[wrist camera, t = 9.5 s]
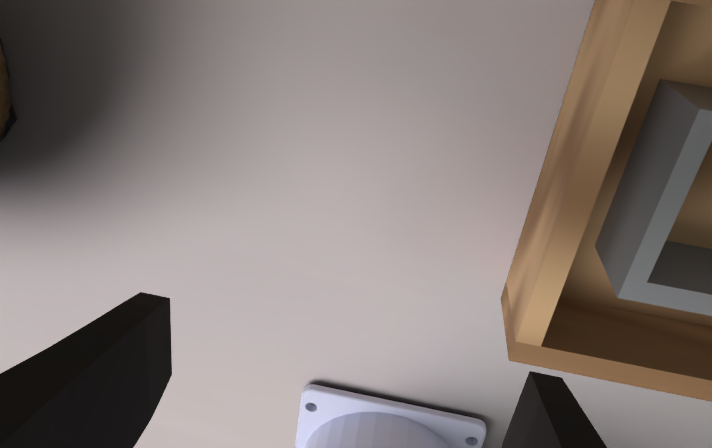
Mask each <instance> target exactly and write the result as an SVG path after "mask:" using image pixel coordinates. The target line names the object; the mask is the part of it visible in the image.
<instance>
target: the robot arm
mask: <svg viewBox="0 0 712 448" xmlns="http://www.w3.org/2000/svg"><path fill="white" fill-rule="evenodd" d="M171 375H172V365H171V325H170V298H166V297H161V296H157V295H152V294H147V293H142V292H141V293H139V294H137V295H135V296H134V297H132V298H130V299H128V300H127V301H125V302H123V303H122V304H120V305H119V306H117V307H115V308H114V309H112V310H110V311H109V312H107V313H106V314H104V315H102V316H101V317H99V318H97V319H96V320H94V321H93V322H91V323H89V324H88V325H86V326H84V327H83V328H81V329H79V330H78V331H76V332H74V333H73V334H71V335H69V336H67V337H66V338H64V339H62V340H61V341H59V342H57V343H56V344H54V345H52V346H51V347H49V348H47V349H45V350H44V351H42V352H40V353H38V354H36V355H34V356H32V357H31V358H29V359H27V360H25V361H23V362H21V363H19V364H18V365H16V366H14V367H12V368H10V369H8V370H7V371H5V372H3V373H1V374H0V448H133V447H134V446H135V444H136V442H137V441H138V439H139V438H140V436H141V434H142V433H143V431H144V430H145V428H146V426H147V425H148V423H149V421H150V420H151V418H152V416H153V414H154V412H155V410H156V407H157V405H158V403H159V401H160V399H161V397H162V395H163V393H164V390H165V388H166V386H167V384H168V382H169V379H170V377H171ZM309 403H314V404H315V405H311V404H309ZM468 437H474V438H468ZM485 437H486V425H485V423H484V422H483V421H482V420H480V419H477V418H472V417H467V416H462V415H458V414H453V413H448V412H443V411H439V410H434V409H429V408H424V407H420V406H415V405H410V404H405V403H400V402H396V401H391V400H386V399H381V398H377V397H372V396H367V395H362V394H357V393H353V392H348V391H343V390H338V389H334V388H329V387H324V386H319V385H313V384H310V385H307V386H306V387H304V389H303V392H302V395H301V402H300V410H299V419H298V427H297V435H296V443H295V448H482V445H483V442H484V439H485ZM502 448H607V447H606V445H605V444H604V442H603V441H602V439H601V438H600V436H599V435H598V433H597V432H596V430H595V429H594V427H593V426H592V424H591V422H590V421H589V419H588V418H587V416H586V415H585V413H584V412H583V410H582V408H581V407H580V405H579V404H578V402H577V401H576V399H575V398H574V396H573V394H572V393H571V391H570V390H569V388H568V387H567V385H566V384H565V382H564V381H563V379H562V378H560V377H555V376H550V375H546V374H541V373H536V372H531V371H530V372H529V375H528V377H527V380H526V383H525V385H524V388H523V391H522V393H521V396H520V399H519V401H518V404H517V407H516V409H515V412H514V415H513V417H512V420H511V423H510V425H509V428H508V431H507V433H506V436H505V439H504V441H503V444H502Z"/></svg>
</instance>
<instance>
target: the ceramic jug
mask: <svg viewBox="0 0 712 448" xmlns="http://www.w3.org/2000/svg"><path fill="white" fill-rule="evenodd" d="M8 89H9V73H8V68H7V64H6V59H5V55H4V50H3V46H2V42H1V40H0V142H1V141H2V140H3V139H4V138H5V136H6V135H7V133H8V132H9V130H10V129H11V127H12V126H13V124H14V123H15V121H16V120H17V118H16V115H15V112H14V108H13V105H12V102H11V99H10V96H9V93H8Z"/></svg>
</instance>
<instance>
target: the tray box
mask: <svg viewBox="0 0 712 448" xmlns="http://www.w3.org/2000/svg"><path fill="white" fill-rule="evenodd" d="M660 79H663V80H669V81H675V82H681V83H687V84H693V85H699V86H705V87H711V88H712V0H595V3H594V6H593V9H592V12H591V15H590V18H589V22H588V25H587V28H586V31H585V34H584V37H583V40H582V44H581V47H580V50H579V53H578V56H577V59H576V63H575V66H574V69H573V72H572V75H571V78H570V82H569V85H568V88H567V91H566V94H565V97H564V101H563V104H562V107H561V110H560V113H559V116H558V119H557V123H556V126H555V129H554V132H553V135H552V138H551V142H550V145H549V148H548V151H547V154H546V157H545V161H544V164H543V167H542V170H541V173H540V176H539V179H538V183H537V186H536V189H535V192H534V195H533V198H532V202H531V205H530V208H529V211H528V214H527V217H526V221H525V224H524V227H523V230H522V233H521V236H520V239H519V243H518V246H517V249H516V252H515V255H514V258H513V262H512V265H511V268H510V271H509V274H508V277H507V281H506V284H505V287H504V290H503V293H502V296H501V304H502V311H503V319H504V326H505V334H506V342H507V349H508V357H509V361H514V362H519V363H524V364H529V365H534V366H539V367H544V368H549V369H554V370H559V371H563V372H568V373H573V374H578V375H583V376H588V377H593V378H598V379H603V380H608V381H613V382H618V383H623V384H628V385H633V386H638V387H642V388H647V389H652V390H657V391H662V392H667V393H672V394H677V395H682V396H687V397H692V398H697V399H702V400H707V401H712V316H709V315H703V314H698V313H693V312H688V311H683V310H678V309H672V308H667V307H662V306H657V305H652V304H647V303H641V302H636V301H631V300H626V299H621V298H617V296H616V294H615V291H614V289H613V287H612V285H611V282H610V280H609V278H608V276H607V273H606V271H605V269H604V266H603V264H602V262H601V260H600V257H599V255H598V253H597V251H596V248H595V243H596V241H597V238H598V236H599V233H600V231H601V228H602V226H603V223H604V220H605V218H606V215H607V213H608V210H609V208H610V205H611V203H612V200H613V198H614V195H615V192H616V190H617V187H618V185H619V182H620V180H621V177H622V175H623V172H624V169H625V167H626V164H627V162H628V159H629V157H630V154H631V152H632V149H633V146H634V144H635V141H636V139H637V136H638V134H639V131H640V129H641V126H642V124H643V121H644V118H645V116H646V113H647V111H648V108H649V106H650V103H651V101H652V98H653V95H654V93H655V90H656V88H657V85H658V83H659V80H660ZM666 240H667V241H672V242H677V243H683V244H688V245H693V246H699V247H704V248H709V249H712V141H711V144H710V146H709V148H708V150H707V152H706V154H705V157H704V159H703V161H702V163H701V165H700V167H699V170H698V172H697V174H696V176H695V178H694V181H693V183H692V185H691V187H690V189H689V191H688V194H687V196H686V198H685V200H684V202H683V204H682V207H681V209H680V211H679V213H678V215H677V218H676V220H675V222H674V224H673V226H672V228H671V231H670V233H669V235H668V237H667V239H666Z"/></svg>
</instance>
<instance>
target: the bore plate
mask: <svg viewBox="0 0 712 448" xmlns="http://www.w3.org/2000/svg"><path fill="white" fill-rule="evenodd" d="M711 141H712V88H711V87H705V86H699V85H693V84H687V83H681V82H675V81H669V80H663V79H660V80H659V83H658V85H657V88H656V90H655V93H654V95H653V98H652V101H651V103H650V106H649V108H648V111H647V113H646V116H645V118H644V121H643V124H642V126H641V129H640V131H639V134H638V136H637V139H636V141H635V144H634V146H633V149H632V152H631V154H630V157H629V159H628V162H627V164H626V167H625V169H624V172H623V175H622V177H621V180H620V182H619V185H618V187H617V190H616V192H615V195H614V198H613V200H612V203H611V205H610V208H609V210H608V213H607V215H606V218H605V220H604V223H603V226H602V228H601V231H600V233H599V236H598V238H597V241H596V243H595V248H596V251H597V253H598V255H599V257H600V260H601V262H602V264H603V266H604V269H605V271H606V273H607V276H608V278H609V280H610V282H611V285H612V287H613V289H614V291H615V294H616V296H617V298H621V299H626V300H631V301H636V302H641V303H647V304H652V305H657V306H662V307H667V308H672V309H678V310H683V311H688V312H693V313H698V314H703V315H709V316H712V249H709V248H704V247H699V246H693V245H688V244H683V243H677V242H672V241H667V240H666V239H667V237H668V235H669V233H670V231H671V228H672V226H673V224H674V222H675V220H676V218H677V215H678V213H679V211H680V209H681V207H682V204H683V202H684V200H685V198H686V196H687V194H688V191H689V189H690V187H691V185H692V183H693V181H694V178H695V176H696V174H697V172H698V170H699V167H700V165H701V163H702V161H703V159H704V157H705V154H706V152H707V150H708V148H709V146H710V144H711Z"/></svg>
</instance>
